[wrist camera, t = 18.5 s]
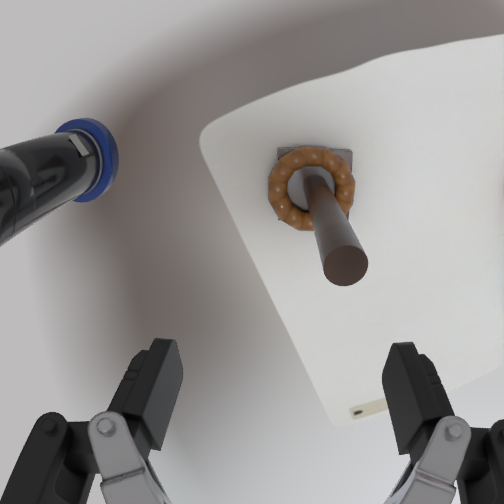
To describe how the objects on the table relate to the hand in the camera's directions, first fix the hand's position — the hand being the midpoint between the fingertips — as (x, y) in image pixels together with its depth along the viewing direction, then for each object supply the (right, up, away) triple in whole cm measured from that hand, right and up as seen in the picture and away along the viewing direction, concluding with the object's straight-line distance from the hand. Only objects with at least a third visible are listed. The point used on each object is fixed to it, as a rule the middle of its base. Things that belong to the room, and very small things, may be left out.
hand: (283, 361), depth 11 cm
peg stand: (+6, +12, +23) cm, 27 cm away
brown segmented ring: (+5, +10, +21) cm, 24 cm away
